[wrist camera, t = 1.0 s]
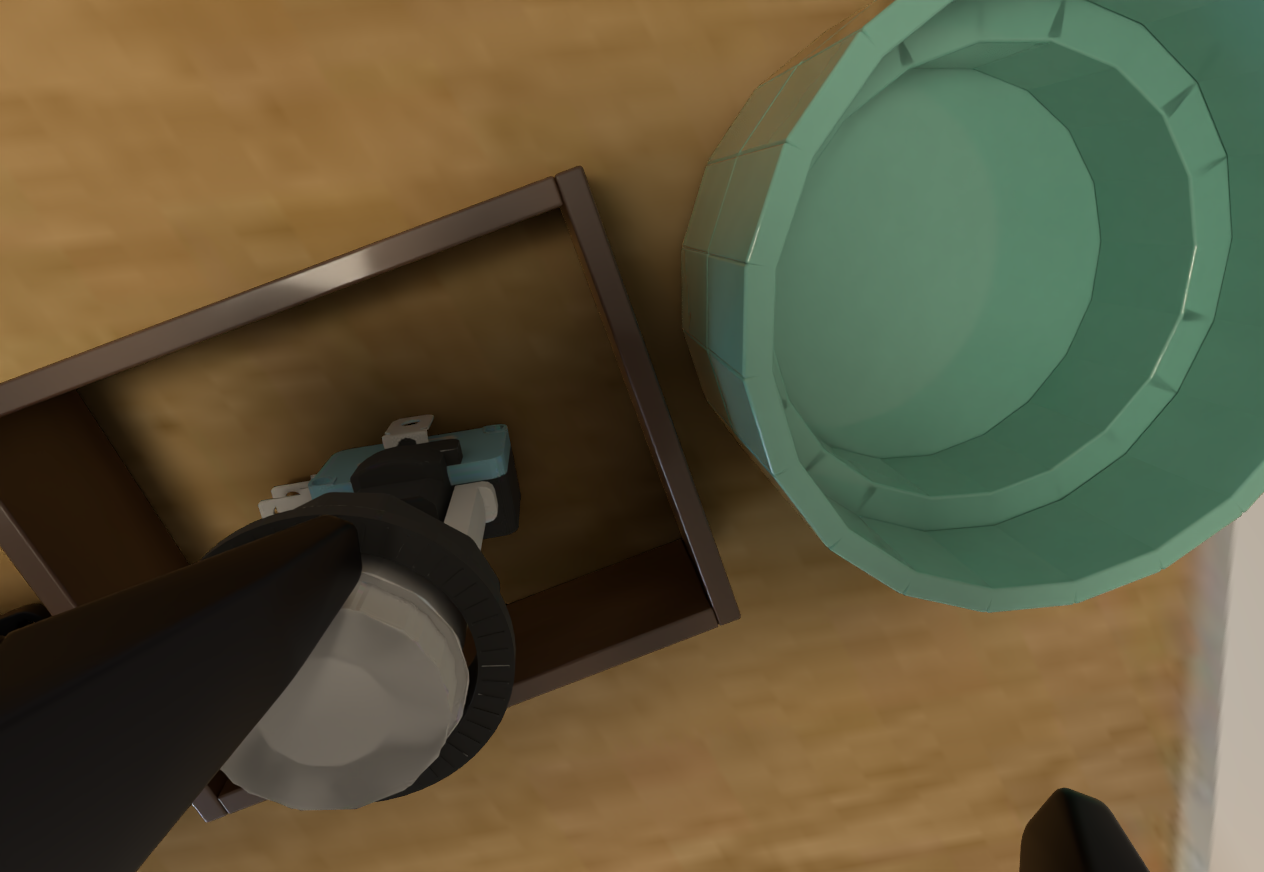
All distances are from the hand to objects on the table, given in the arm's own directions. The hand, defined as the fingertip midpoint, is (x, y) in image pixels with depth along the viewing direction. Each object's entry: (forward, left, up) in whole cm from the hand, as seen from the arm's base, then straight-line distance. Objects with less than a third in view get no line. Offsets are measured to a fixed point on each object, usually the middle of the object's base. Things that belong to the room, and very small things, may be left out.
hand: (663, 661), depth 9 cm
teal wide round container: (+10, 0, -12) cm, 15 cm away
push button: (-5, 0, -12) cm, 13 cm away
